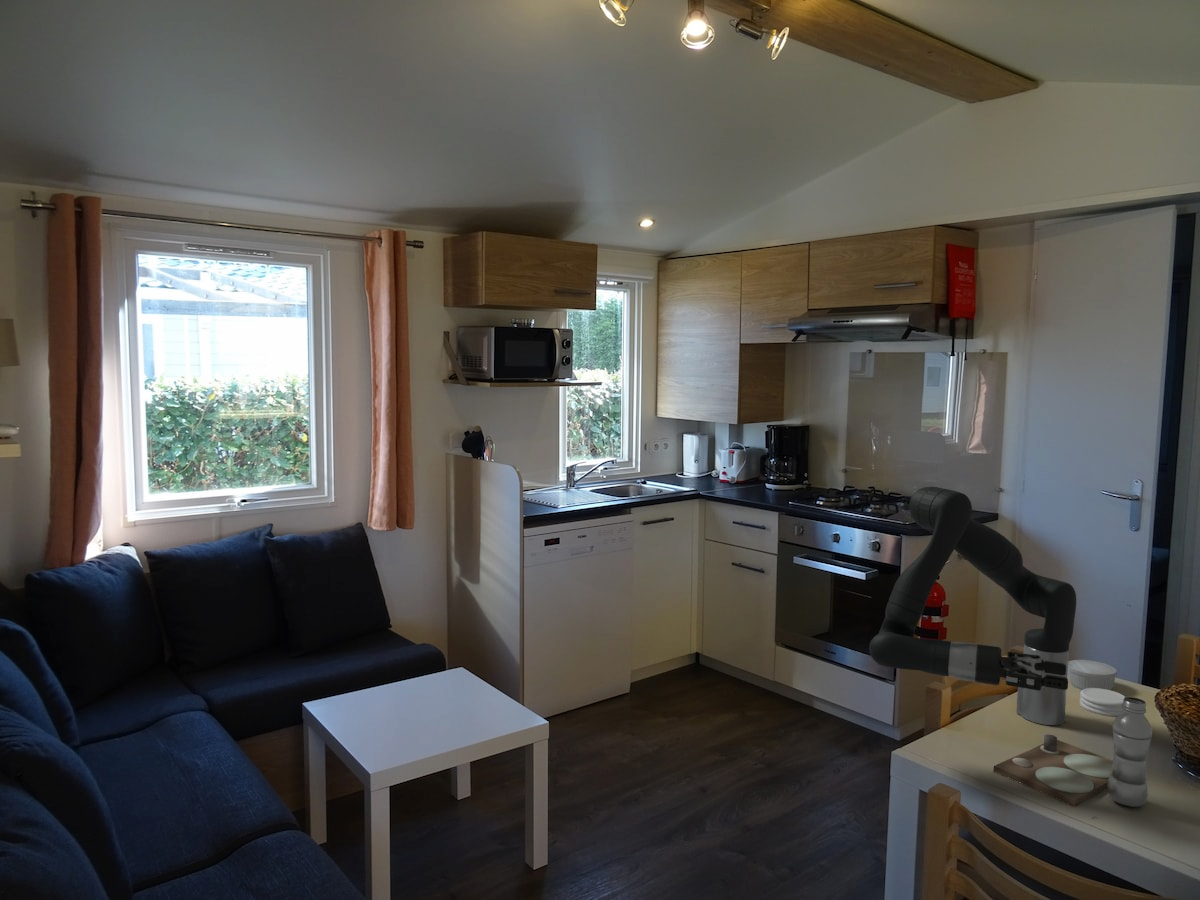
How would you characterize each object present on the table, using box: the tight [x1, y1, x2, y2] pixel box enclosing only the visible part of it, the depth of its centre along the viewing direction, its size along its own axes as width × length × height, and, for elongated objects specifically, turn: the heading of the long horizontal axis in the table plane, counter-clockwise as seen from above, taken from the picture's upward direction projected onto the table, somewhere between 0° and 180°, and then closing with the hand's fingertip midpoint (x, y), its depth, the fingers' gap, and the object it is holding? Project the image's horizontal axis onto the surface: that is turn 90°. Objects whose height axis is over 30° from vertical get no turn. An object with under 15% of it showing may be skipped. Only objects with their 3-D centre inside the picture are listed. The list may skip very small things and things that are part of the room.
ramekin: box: [1067, 659, 1118, 691], centre depth 215 cm, size 11×11×5 cm
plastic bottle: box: [1107, 696, 1153, 808], centre depth 156 cm, size 6×7×20 cm
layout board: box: [993, 734, 1113, 807], centre depth 169 cm, size 16×23×4 cm
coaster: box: [1079, 688, 1126, 717], centre depth 201 cm, size 10×10×4 cm
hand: (1066, 676), depth 160 cm, fingers open, 8 cm apart
